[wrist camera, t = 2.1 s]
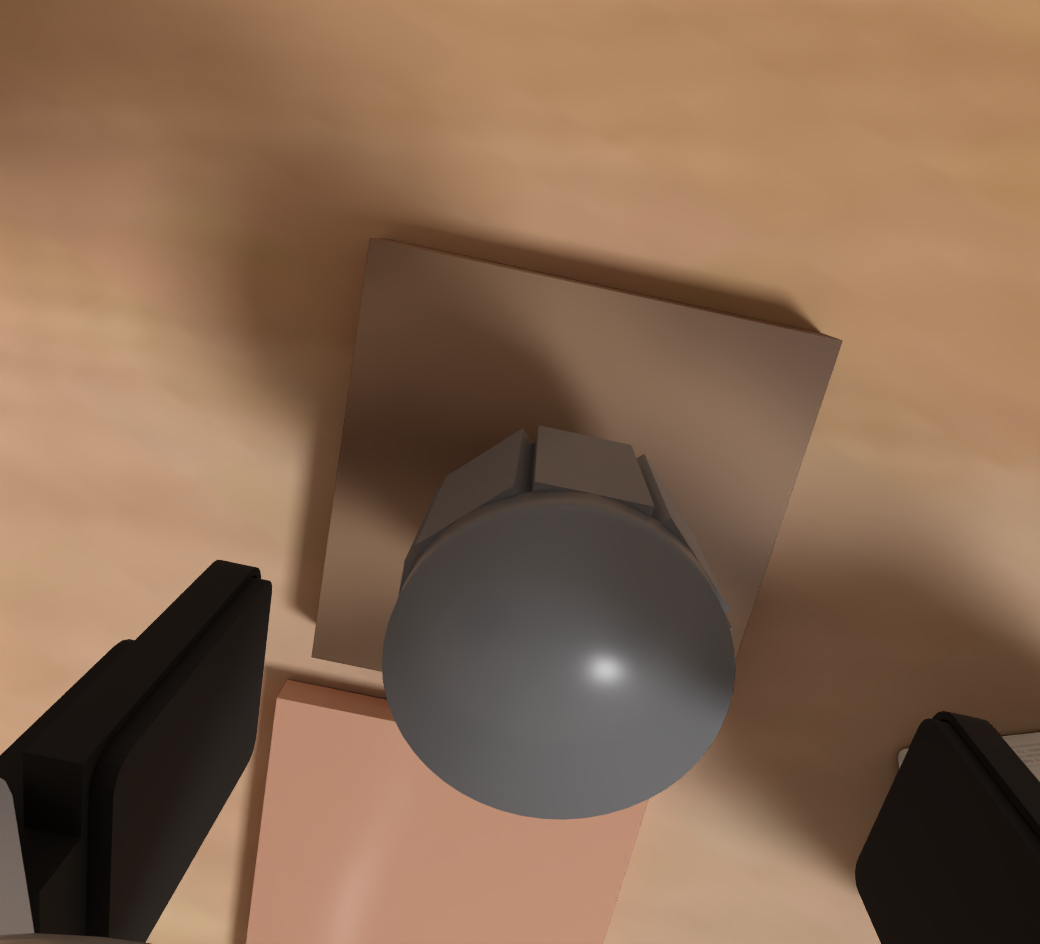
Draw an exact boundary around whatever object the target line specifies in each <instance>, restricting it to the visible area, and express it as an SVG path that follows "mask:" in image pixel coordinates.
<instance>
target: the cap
mask: <svg viewBox="0 0 1040 944" xmlns="http://www.w3.org/2000/svg"><path fill="white" fill-rule="evenodd" d="M729 611H730V609H729V607H728V605H727V603H726V601H725V598H724V596H723V594H722V592H721V590H720V588H719V586H718V584H717V582H716V579H715V577H714V575H713V573H712V571H711V569H710V567H709V565H708V563H707V561H706V558H705V556H704V554H703V552H702V550H701V548H700V546H699V544H698V542H697V539H696V537H695V535H694V533H693V531H692V529H691V527H690V525H689V524H688V522H687V521H686V519H685V518H684V516H683V514H682V513H681V511H680V510H679V508H678V506H677V505H676V503H675V502H674V500H673V499H672V497H671V495H670V494H669V492H668V491H667V489H666V487H665V486H664V484H663V483H662V481H661V480H660V478H659V476H658V475H657V473H656V472H655V470H654V468H653V467H652V465H651V464H650V462H649V460H648V459H647V457H646V456H645V454H643V455H641V456H639V457H638V458H636V456H635V453H634V451H633V448H632V445H630V444H625V443H620V442H615V441H611V440H606V439H601V438H596V437H592V436H587V435H582V434H578V433H573V432H568V431H563V430H559V429H554V428H549V427H544V426H540V425H539V426H538V431H537V436H536V440H535V445H534V444H533V442H532V441H531V439H530V438H529V436H528V435H527V433H526V432H525V430H524V429H523V428H522V429H521V430H519V431H517V432H516V433H514V434H513V435H511V436H510V437H508V438H506V439H505V440H503V441H502V442H500V443H498V444H497V445H495V446H494V447H492V448H490V449H489V450H487V451H486V452H484V453H482V454H481V455H479V456H478V457H476V458H475V459H473V460H471V461H470V462H468V463H467V464H465V465H463V466H462V467H460V468H459V469H457V470H455V471H454V472H452V473H451V474H449V475H447V476H446V477H445V479H444V482H443V484H442V486H441V488H440V489H437V491H436V493H435V495H434V497H433V500H432V502H431V504H430V506H429V508H428V510H427V513H426V515H425V517H424V519H423V521H422V524H421V526H420V528H419V530H418V532H417V535H416V537H415V539H414V541H413V543H412V545H411V548H410V550H409V552H408V554H407V556H406V559H405V561H404V567H403V573H402V578H401V584H400V590H399V596H398V600H397V602H396V604H395V607H394V609H393V612H392V614H391V616H390V619H389V622H388V626H387V630H386V634H385V638H384V644H383V654H382V672H383V683H384V688H385V693H386V698H387V702H388V704H389V707H390V710H391V713H392V716H393V718H394V721H395V722H396V724H397V726H398V728H399V730H400V732H401V734H402V736H403V737H404V739H405V740H406V742H407V743H408V745H409V746H410V747H411V749H412V750H413V752H414V753H415V754H416V755H417V756H418V757H419V759H420V760H421V761H422V762H423V763H424V764H425V765H426V766H427V767H428V768H429V769H430V770H431V771H432V772H433V773H435V774H436V775H437V776H438V777H439V778H440V779H442V780H443V781H444V782H445V783H447V784H448V785H450V786H451V787H453V788H454V789H456V790H457V791H459V792H460V793H462V794H464V795H466V796H468V797H470V798H472V799H474V800H476V801H478V802H480V803H482V804H485V805H487V806H490V807H493V808H495V809H498V810H501V811H504V812H508V813H512V814H516V815H520V816H526V817H533V818H540V819H560V820H566V819H580V818H589V817H595V816H600V815H606V814H609V813H613V812H616V811H620V810H623V809H626V808H629V807H631V806H634V805H636V804H638V803H641V802H643V801H645V800H648V799H649V798H651V797H653V796H655V795H656V794H658V793H660V792H662V791H663V790H665V789H667V788H668V787H669V786H671V785H672V784H673V783H675V782H676V781H677V780H679V779H680V778H681V777H683V776H684V775H685V774H686V773H687V772H688V771H689V770H690V769H691V768H692V767H693V766H694V765H695V764H696V763H697V762H698V761H699V760H700V758H701V757H702V756H703V755H704V753H705V752H706V751H707V750H708V748H709V747H710V746H711V744H712V742H713V741H714V739H715V737H716V736H717V734H718V732H719V731H720V729H721V726H722V724H723V722H724V719H725V717H726V715H727V712H728V709H729V706H730V702H731V698H732V694H733V689H734V679H735V651H734V645H733V640H732V635H731V631H732V626H731V624H730V622H729V620H728V618H727V615H726V613H727V612H729Z"/></svg>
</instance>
